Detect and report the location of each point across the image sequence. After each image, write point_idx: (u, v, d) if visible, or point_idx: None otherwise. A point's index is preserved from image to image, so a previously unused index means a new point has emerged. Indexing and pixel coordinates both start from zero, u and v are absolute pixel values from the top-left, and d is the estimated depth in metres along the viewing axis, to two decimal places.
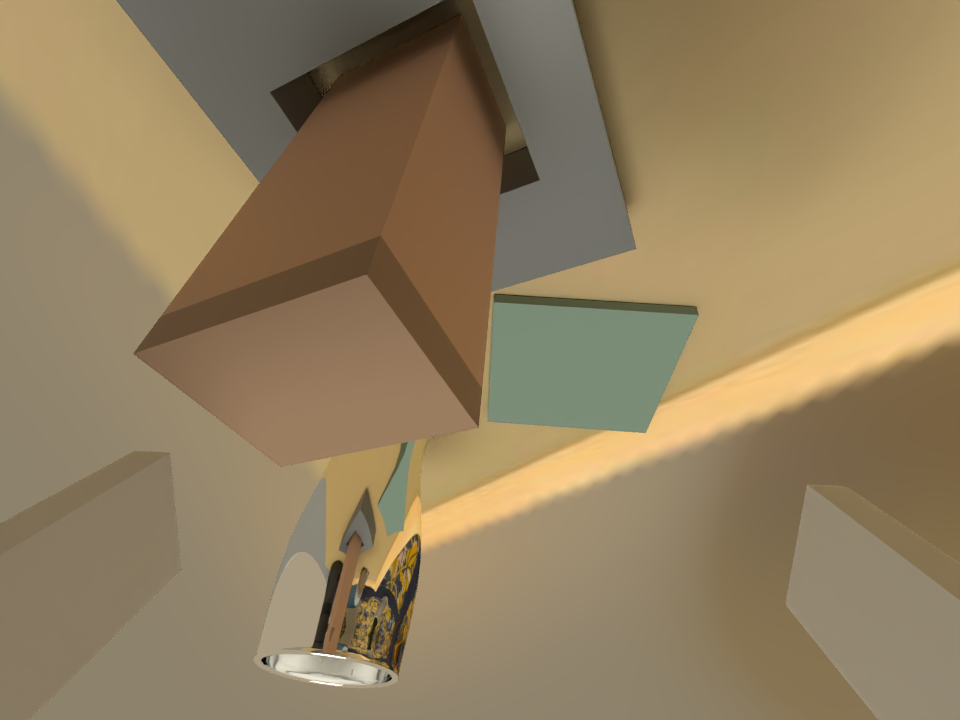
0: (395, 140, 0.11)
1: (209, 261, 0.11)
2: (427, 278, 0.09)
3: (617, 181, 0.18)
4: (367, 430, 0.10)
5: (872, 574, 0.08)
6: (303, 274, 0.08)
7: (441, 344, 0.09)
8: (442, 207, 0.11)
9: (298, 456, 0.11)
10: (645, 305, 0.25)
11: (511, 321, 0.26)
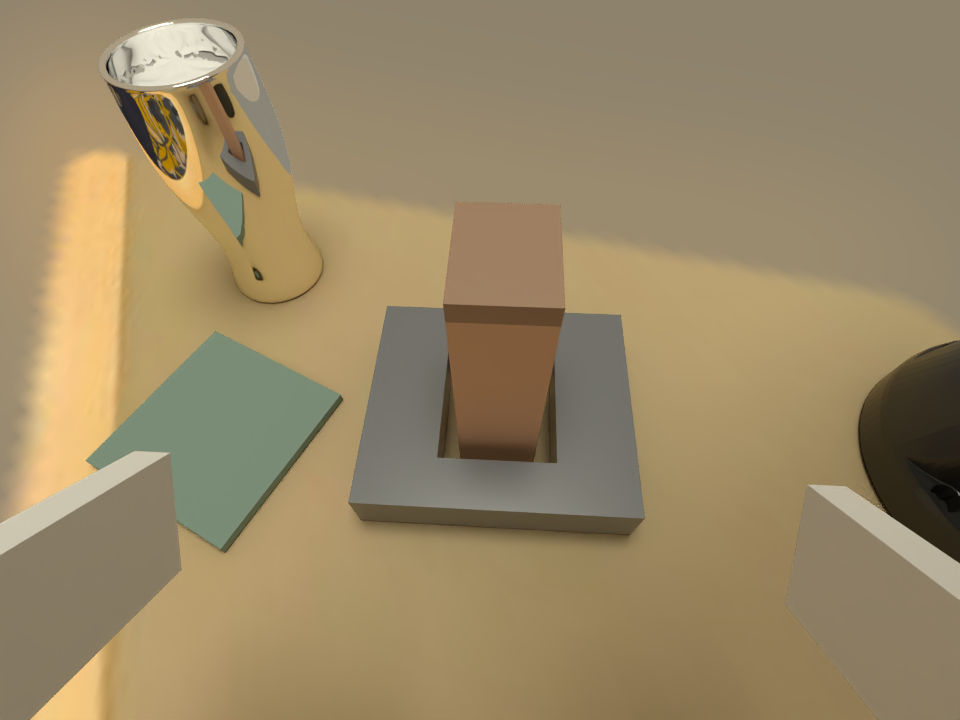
0: None
1: None
2: (519, 334, 0.18)
3: (410, 505, 0.24)
4: (466, 255, 0.18)
5: (873, 575, 0.08)
6: None
7: (496, 317, 0.17)
8: (517, 370, 0.20)
9: (460, 214, 0.19)
10: (257, 508, 0.27)
11: (314, 398, 0.30)
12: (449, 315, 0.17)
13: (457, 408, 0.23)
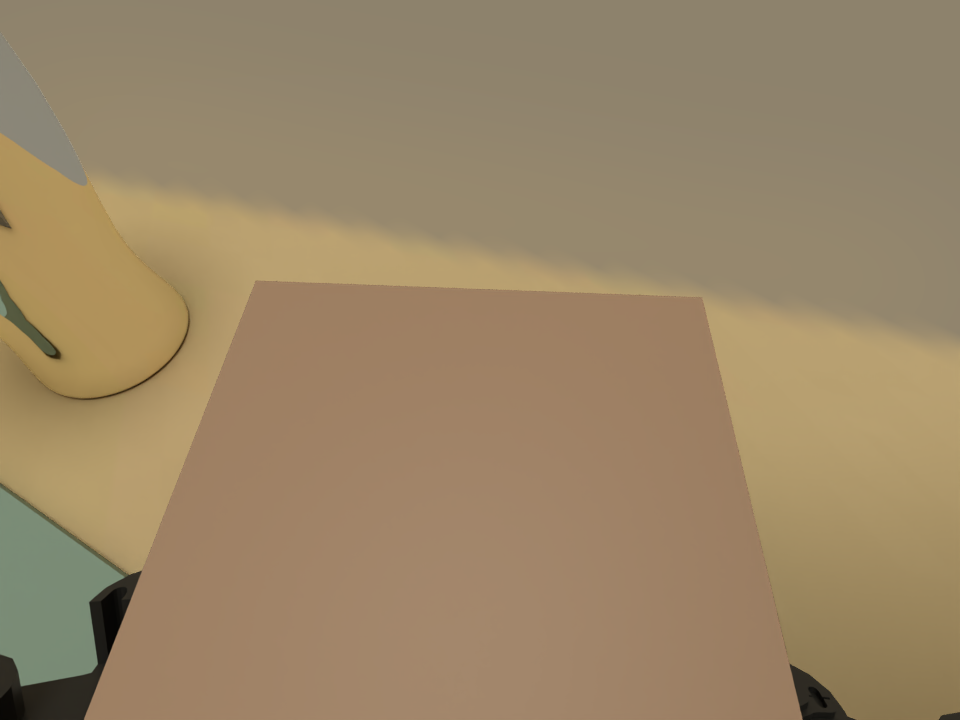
0: None
1: None
2: None
3: None
4: (219, 630, 0.03)
5: None
6: None
7: None
8: None
9: (258, 346, 0.04)
10: None
11: None
12: None
13: None
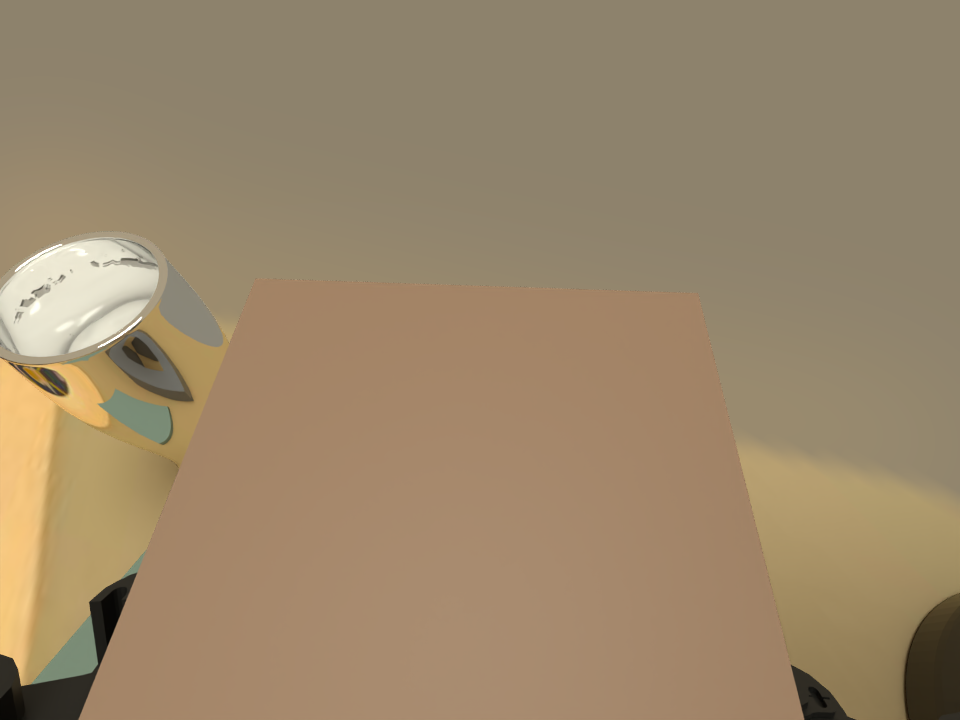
0: None
1: None
2: None
3: None
4: (217, 620, 0.03)
5: None
6: None
7: None
8: None
9: (258, 342, 0.04)
10: None
11: None
12: None
13: None
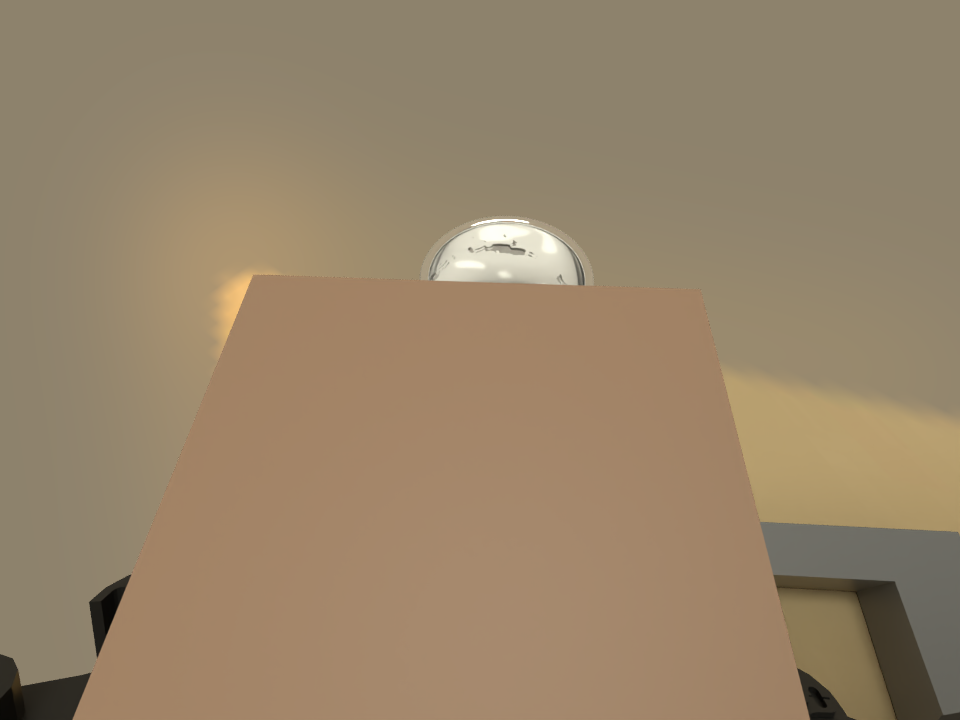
0: None
1: None
2: None
3: None
4: (214, 619, 0.03)
5: None
6: None
7: None
8: None
9: (256, 339, 0.04)
10: None
11: None
12: None
13: None
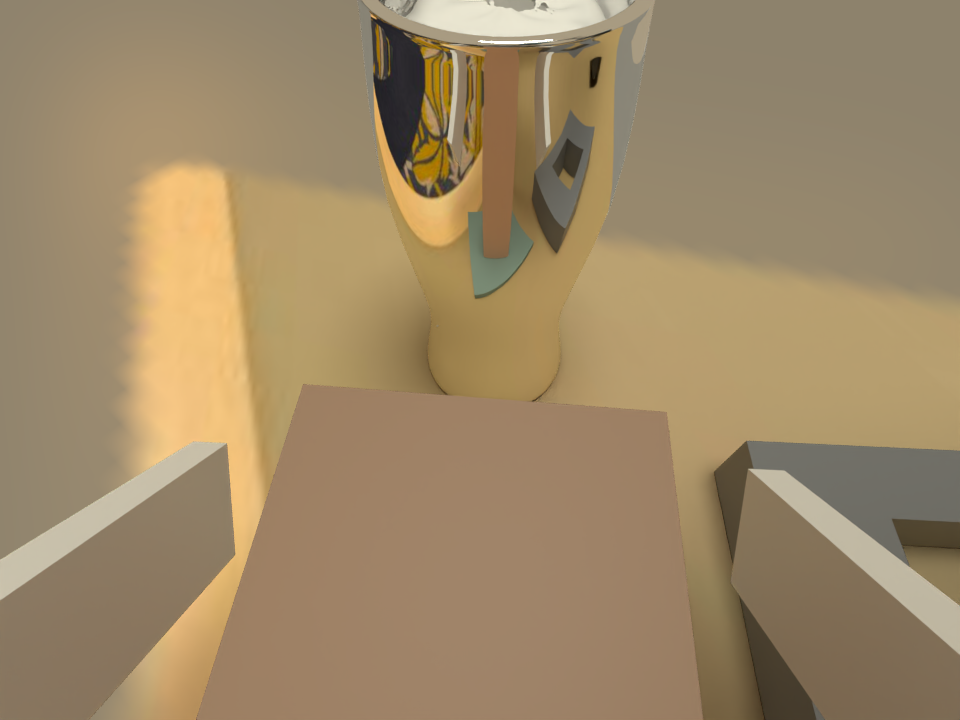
0: None
1: None
2: None
3: None
4: (282, 683, 0.04)
5: (796, 549, 0.09)
6: None
7: None
8: None
9: (307, 445, 0.05)
10: None
11: None
12: None
13: None
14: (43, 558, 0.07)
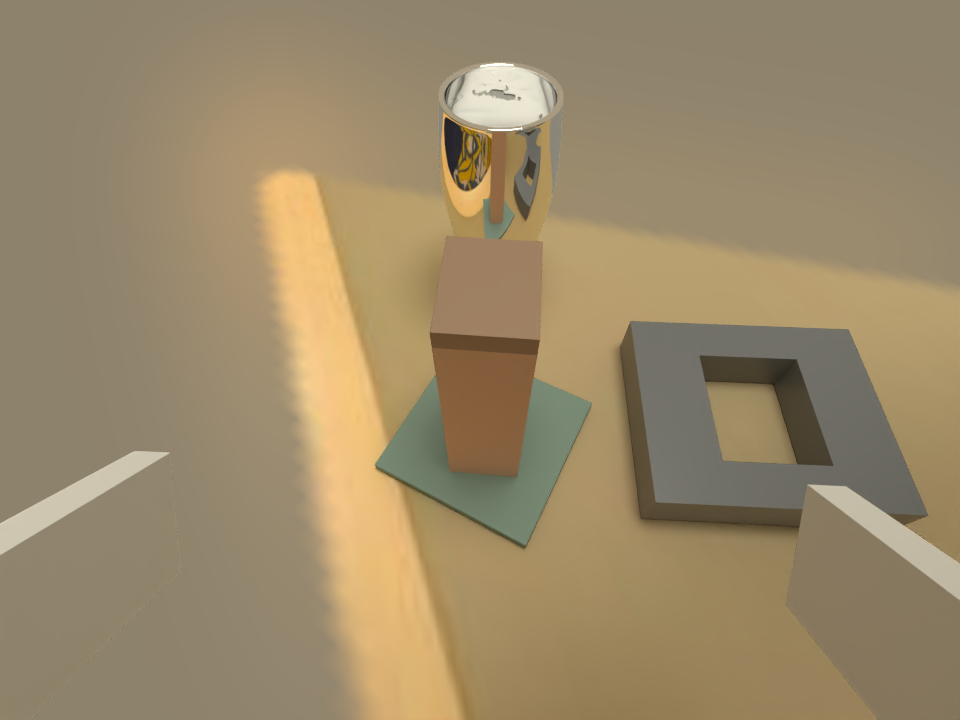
0: None
1: None
2: (499, 361, 0.20)
3: (712, 504, 0.27)
4: (453, 287, 0.20)
5: (873, 575, 0.08)
6: None
7: (478, 345, 0.19)
8: (499, 391, 0.22)
9: (449, 248, 0.21)
10: (543, 507, 0.29)
11: (568, 407, 0.33)
12: (435, 342, 0.19)
13: (445, 423, 0.25)
14: None
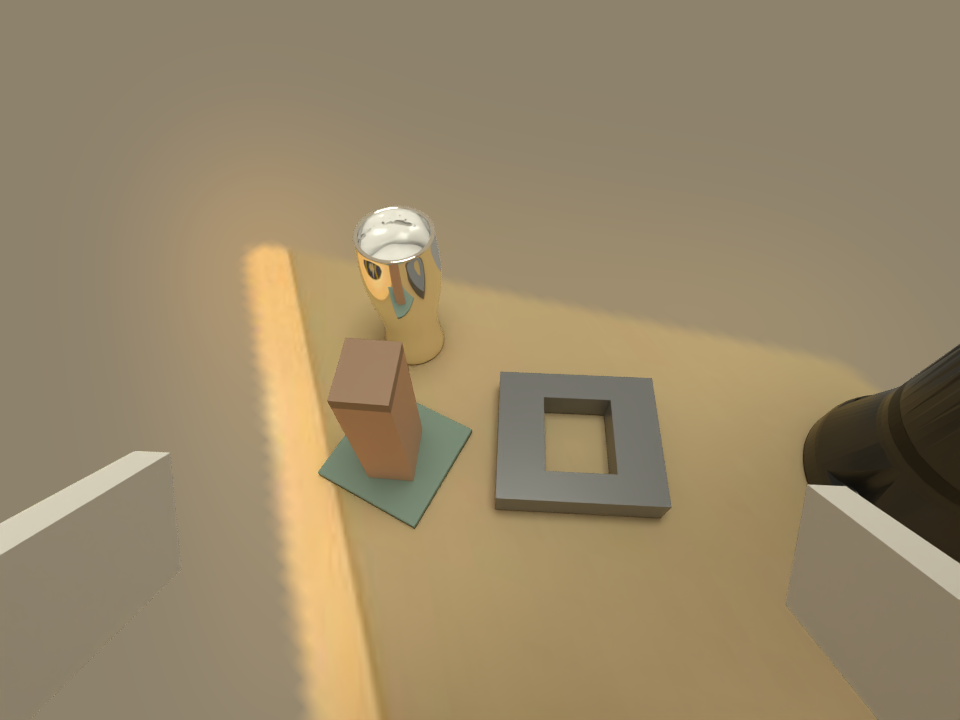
0: (400, 430, 0.37)
1: (406, 365, 0.37)
2: (371, 415, 0.34)
3: (532, 499, 0.41)
4: (344, 372, 0.34)
5: (872, 574, 0.08)
6: (393, 391, 0.34)
7: (356, 407, 0.33)
8: (378, 430, 0.36)
9: (346, 346, 0.35)
10: None
11: (455, 432, 0.47)
12: (332, 405, 0.33)
13: (353, 447, 0.39)
14: None
